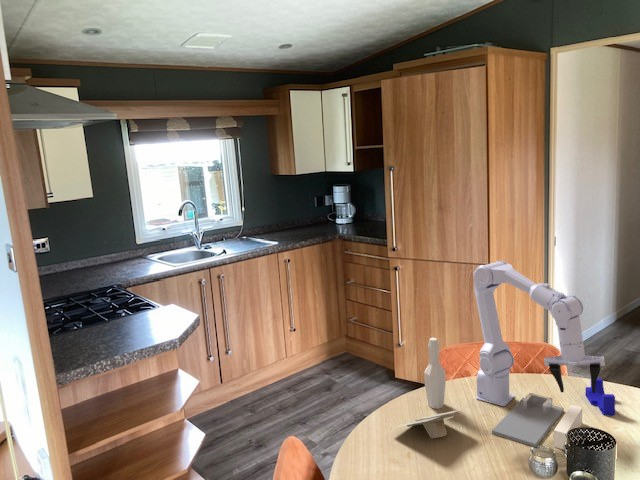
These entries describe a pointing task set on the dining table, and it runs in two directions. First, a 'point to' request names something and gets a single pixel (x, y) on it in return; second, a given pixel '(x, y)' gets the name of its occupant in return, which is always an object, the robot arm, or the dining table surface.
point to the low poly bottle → (434, 377)
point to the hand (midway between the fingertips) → (577, 391)
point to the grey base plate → (529, 420)
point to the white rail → (567, 425)
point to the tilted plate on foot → (433, 424)
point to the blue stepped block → (601, 398)
